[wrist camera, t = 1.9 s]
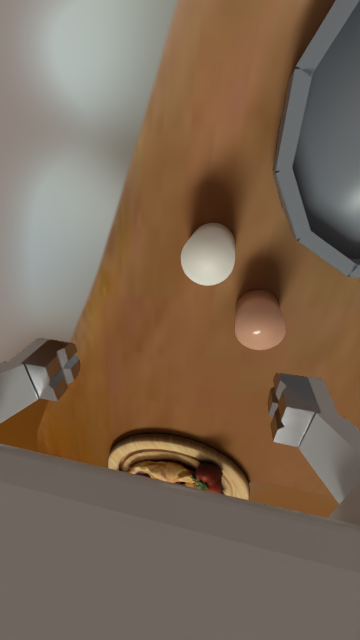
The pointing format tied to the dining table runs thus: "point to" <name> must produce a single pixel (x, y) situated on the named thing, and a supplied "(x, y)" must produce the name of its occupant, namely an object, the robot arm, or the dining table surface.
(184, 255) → the white egg
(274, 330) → the brown egg
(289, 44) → the dining table surface
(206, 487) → the wooden plate with food
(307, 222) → the groove tray
